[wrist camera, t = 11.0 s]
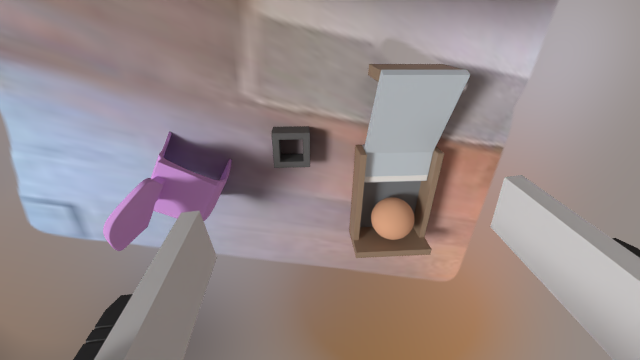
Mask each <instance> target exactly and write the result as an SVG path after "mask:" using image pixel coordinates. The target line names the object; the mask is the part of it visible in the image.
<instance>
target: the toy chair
mask: <svg viewBox="0 0 640 360" xmlns="http://www.w3.org/2000/svg"><path fill="white" fill-rule="evenodd" d="M171 135H172V133H171V132H169V134H168V136H167V139H166V142H165V145H164V147H163V149H162V151H161V152H160V154H159V156H158V159H157V162H156V164H155V167H154V170H153V173H152V176H151V178H147V179H145V180H143V181H142V182H141V183H140V184H139V185H138V186H137V187H135V188H134V189H133V190H132V191H131V193H130V194H129V195H128V196H127V197H126V198H125V199H124V200H123V201H122V202H121V203H120V204H119V205H118V206H117V208H116V209H115V210H114V211H113V212H112V213H111V215H110V216H109V217H108V219H107V220H106V222H105V225H104V229H103V233H104V236H105V238H106V240H107V241H108V243H109V244H110V245H111V246H112V247H113V248H114V249H115V250H117V251H121V250H123V249H124V248H125V247H127V245H129V244H130V243H131V242H132V241H133V240H134V239H135V238H136V237H137V236H138V235H139V234H140V233H141V232H142V231H143V230H145V229H146V228H147V227H148V224H149V221H150V219H151V216H152V213H153V211H156V212H159V213H163V214H166V215H169V216H171V217H174V218H177V219H178V217H179V216H180V214H181V213H183V212H192V211H200V214H201V216H202V219H203V221H205V220H206V219H207V218H208V216H209V215H210V214H211V212H212V210H213V208H214V207H215V205H216V202H217V200H218V198H219V196H220V194H221V192H222V190H223V188H224V186H225V184H226V182H227V179H228V177H229V173H230V168H231V163H232V160H231V159H229V161H228V163H227V165H226V167H225V169H224V172H223V174H222V176H221V178H220V180H214V179H211V178H208V177H205V176H202V175H200V174H197V173H194V172H192V171H189V170H187V169H185V168H183V167H181V166H179V165H176V164H174V163H172V162H170V161H168V160H166V159H165V158H164V155H165V152H166V149H167V146H168V143H169V141H170V138H171Z"/></svg>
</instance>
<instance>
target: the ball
mask: <svg viewBox="0 0 640 360" xmlns="http://www.w3.org/2000/svg"><path fill="white" fill-rule="evenodd" d="M371 222H372V225H373V228H374V229H375V231H376V232H377V233H378V234H379V235H380V236H382V237H384V238H386V239H390V240H397V239H401V238H403V237H405V236H406V235H408V234H409V233H410V231H411V230H412V228H413V225H414V213H413V210H412V208H411V207H410V206H409V205H408V203H406V202H405V201H403V200H402V199H399V198H394V197H390V198H385V199H383V200H381V201H379V202H378V203H377V204H376V205H375V207H374V208H373V210H372V214H371Z"/></svg>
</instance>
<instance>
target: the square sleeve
mask: <svg viewBox="0 0 640 360" xmlns="http://www.w3.org/2000/svg"><path fill="white" fill-rule="evenodd" d="M289 139H303V154H281V146H280V140H289ZM272 146H273V159H274V168H287V167H310V131H309V126H307V127H273V129H272Z"/></svg>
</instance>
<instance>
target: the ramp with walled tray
mask: <svg viewBox="0 0 640 360" xmlns="http://www.w3.org/2000/svg"><path fill="white" fill-rule="evenodd" d="M368 75H369V76H371V77H372V78H373V79H375V80H376V81H378V87H377V91H376V96H375V101H374V105H373V110H372V114H371V119H370V124H369V128H368V133H367V138H366V142H365V145H356V147H355V161H354V174H353V188H352V201H351V215H350V228H349V232H350V236H351V240H352V244H353V247H354V251H355V255H356V258H366V257H387V256H409V255H430V253H431V248H430V246H429V244H428V243H427V241H426V239H425V238H424V236H425V232H426V228H427V224H428V220H429V216H430V211H431V207H432V203H433V199H434V195H435V190H436V186H437V182H438V178H439V174H440V169H441V165H442V161H443V157H444V153H443V152H442V151H441V150H440V149H439V148H437V147H436V145H437V143H438V141H439V139H440V137H441V135H442V133H443V130H444V128H445V126H446V124H447V122H448V120H449V118H450V116H451V114H452V112H453V110H454V108H455V106H456V104H457V102H458V100H459V97H460V95H461V93H462V91H463V89H464V87H465V85H466V83H467V81H468V79H469V77H470V73H469V72H468V71H467V70H463V69H459V68H455V67H451V66H447V65H444V64H369V72H368ZM390 197H394V198H399V199H402V200H403V201H405V202H406V203H408V205H409V206H410V207H411V208H412V210H413V213H414V225H413V228H412V230H411V231H410V233H409V234H408V235H406V236H405V237H403V238H401V239H397V240H390V239H386V238H384V237H382V236H380V235H379V234H378V233H377V232H376V231H375V229H374V228H373V225H372V222H371V214H372V210H373V208H374V207H375V205H376V204H377V203H378V202H379V201H381V200H383V199H385V198H390Z"/></svg>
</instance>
